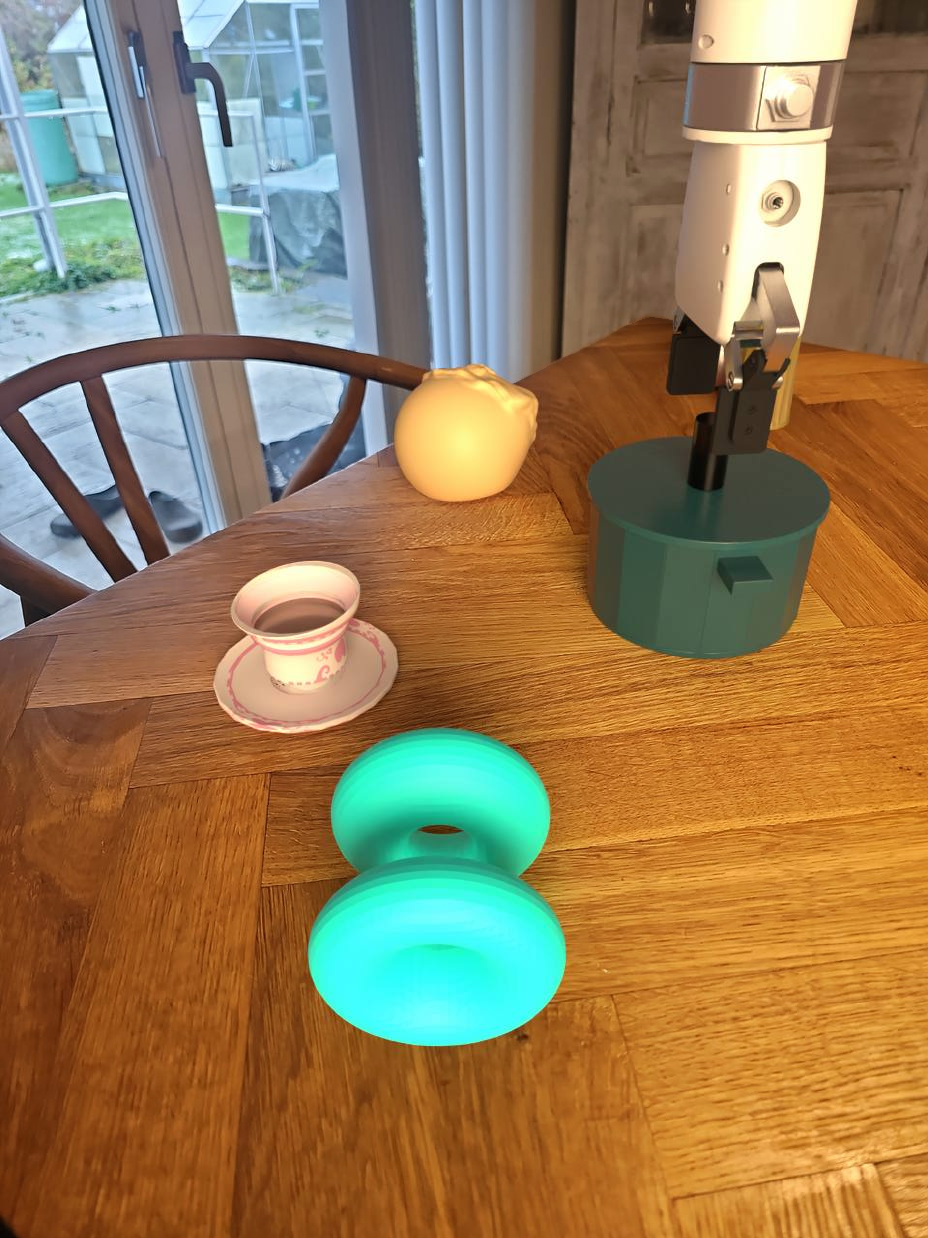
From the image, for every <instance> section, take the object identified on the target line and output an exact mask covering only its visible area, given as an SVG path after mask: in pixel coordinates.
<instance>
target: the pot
mask: <svg viewBox="0 0 928 1238" xmlns="http://www.w3.org/2000/svg"><path fill="white" fill-rule="evenodd" d="M818 528H819V526H818V527H817V528H816V529H815V530H813V531H812V532H811V533H809V534H807V535H805V536H803V537H801V538H799V539H796V540H794V541H791V542H789V543H785V544H781V545H777V546H773V547H767V548H762V549H753V550H743V551H714V550H700V549H691V548H685V547H679V546H673V545H669V544H665V543H660V542H656V541H653V540H650V539H647V538H644V537H641V536H638V535H636V534H633V533H631V532H628V531H626V530H624V529H622V528H620V527H619V526H617V525H615V524H613V523H612V522H610V521H609V520H607V519H606V518H605V517H604V516H602V515H601V514H600V513H599V512H598V511H597V510H596V509H595V507H594V506H593V505H592V503H591V502H590V512H589V528H588V529H589V530H588V543H587V544H588V547H587V561H586V563H587V564H586V578H585V579H586V580H585V588H586V590H587V600H588V604H589V606H590V608H591V610H592V612H593V614H594V615H595V617H596V618H597V619H598V620H599V621H600V622H601V624H603V625H604V626H605V627H606V628H607V629H608V630H609V631H611V632H612V633H614V634H615V635H617V636H619V637H620V638H622V639H623V640H625V641H628V642H630V643H631V644H634V645H636V646H639V647H641V648H644V649H646V650H649V651H653V652H656V653H660V654H663V655H668V656H674V657H679V658H687V659H700V660H716V659H717V660H718V659H719V660H720V659H728V658H729V659H730V658H737V657H742V656H745V655H750V654H753V653H756V652H759V651H762V650H764V649H766V648H769V647H770V646H772V645H774V644H776V643H777V642H779V641H780V640H781V639H782V638H783V637H784V636H785V635H786V634H787V633H788V632H789V631H790V629H791V628H792V626H793V623H794V621H795V620H796V619H797V618H798V617H797V616H798V612H799V608H800V604H801V600H802V595H803V591H804V588H805V583H806V579H807V574H808V571H809V566H810V561H811V558H812V554H813V549H814V545H815V541H816V536H817V534H818V533H817V532H818Z"/></svg>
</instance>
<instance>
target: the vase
mask: <svg viewBox="0 0 928 1238" xmlns="http://www.w3.org/2000/svg"><path fill="white" fill-rule="evenodd" d="M750 329H763V325H761V327H746V329H745V330H750ZM802 337H803V333H802V334H801V335H800V337H799V338H798V339H797V341H796V343H795V345H794V347H793V349H792V351H791V354H790V356H789V359H791V362H790V365H789V366H788V368H787V370H786V371H785V372H784V374H783V383H782V386H781V388H780V389H778V391H777V396H776V401H775V406H774V412H773V417H772V422H771V427H770V432H772V431H778V430H781V429H783V428H785V427H787V426H788V425H789V423H790V419H791V418H790V416H791V415H790V414H791V407H792V402H793V396H794V388H795V381H796V374H797V367H798V360H799V354H800V348H801V343H802ZM760 348H761V347H755V348H742V350H741V358H742V365H743V363H744V362H745V361H746V359H747V358H748V357H749V355H750V354H751V353H752V351H753V350H758V349H760Z"/></svg>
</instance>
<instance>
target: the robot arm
mask: <svg viewBox="0 0 928 1238" xmlns="http://www.w3.org/2000/svg"><path fill="white" fill-rule="evenodd" d="M858 1H859V0H695V9H694V20H693V29H692V38H691V47H690V56H689V57H690V58H689V62H690V63H689V64H688V72H687V73H688V74H687V83H686V91H685V100H684V108H683V109H684V110H683V119H682V131H681V138H684V139H685V140H689V141H694V144H693V150H692V156H691V160H690V166H689V169H688V178H687V183H686V190H685V195H684V202H683V207H682V215H681V222H680V228H679V236H678V242H677V243H678V244H677V252H676V260H675V261H676V262H675V273H674V275H675V276H674V297H675V301H676V305H678V306H677V307H676V310H675V312H674V314H673V318H672V329H673V333H672V334H671V342H670V351H669V359H668V366H667V367H668V368H667V375H666V385H665V390H666V392H667V393H668V394H669V395H670V396H692V395H709V394H712V393H713V392H714V391H715V389H716V387H715V384H716V377H717V370H718V364H719V357H720V350H721V345H723V352H724V363H725V374H726V385H721V386H719V387H717V395H716V402H715V408H714V412H715V414H714V421H713V427H712V434H711V440H710V450H711V451H712V452H713V454H714V455H737V454H757V453H762V452H763V451H765V449H766V447H767V446H768V442H769V438H770V432H771V431H770V427H771V422H772V417H773V412H774V406H775V401H776V396H777V391H778V389H780V388H781V386H782V383H783V374H784V372H785V371H786V370H787V368H788V366H789V365H790V362H791V359H789V356H790V354H791V351H792V349H793V347H794V345H795V343H796V341H797V339H798V338H799V337H800V335H801V334H802V335H803V332H804V329H805V324H806V319H807V315H808V310H809V309H808V308H809V303H810V298H811V297H810V296H811V293H812V292H811V291H812V286H813V278H814V272H815V268H816V267H815V266H816V259H817V253H818V246H819V239H820V233H821V224H822V217H823V207H824V197H825V182H826V181H825V180H826V166H827V164H826V163H827V141H825V140H828V139H830V138H831V137H832V132H833V128H834V125H833V124H834V123H835V117H836V113H837V108H838V102H839V97H840V91H841V87H842V81H843V77H844V72H845V68H846V59H847V57H848V52H849V47H850V40H851V36H852V31H853V26H854V21H855V15H856V11H857V5H858ZM761 325H763V329H750V330H736V328H739V327H761ZM755 347H761V348H760V349H758V350H753V351H752V353H751V354H750V355H749V357H748V358H747V359H746V361H745V362H744V363H743V365H742V358H741V348H755ZM767 448H768V447H767Z"/></svg>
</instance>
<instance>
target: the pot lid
mask: <svg viewBox="0 0 928 1238" xmlns="http://www.w3.org/2000/svg"><path fill="white" fill-rule="evenodd" d="M714 414H715V411H703V412H701V413H699V414H697V415H695V417H694V423H693V424H694V425H693V431H692V435H683V436H682V435H681V436H666V437H657V438H649V439H645V440H644V439H643V440H640V441H635V442H631V443H627V444H625V445H623V446H620V447H617V448H615V449H613V450H611V451H609V452H607V453H605V454H603V456H601V457H600V458H598V459H597V460H596V461H595V462H594V463H593V465H592V466H591V468H590V469H589V470H588V474H587V477H586V493H587V494H586V495H587V498H588V500H589V502H590V504H591V503H592V505H593V506H594V507H595V509H596V510H597V511H598V512H599V513H600V514H601V515H602V516H604V517H605V518H606V519H607V520H609V521H610V522H612V523H613V524H615V525H617V526H619V527H620V528H622V529H624V530H626V531H628V532H631V533H633V534H636V535H638V536H641V537H644V538H647V539H650V540H653V541H656V542H660V543H665V544H669V545H673V546H679V547H685V548H691V549H700V550H714V551H743V550H753V549H762V548H767V547H773V546H777V545H781V544H785V543H789V542H791V541H794V540H796V539H799V538H801V537H803V536H805V535H807V534H809V533H811V532H812V531H813V530H815V529H816V528H817V527H818V528H819V527H820V525H822V523H823V522H824V521H825V519H826V518H827V516H828V514H829V511H830V507H831V501H832V497H831V491H830V489H829V487H828V484H827V482H825V481H826V480H824V479H823V477H822V476H821V475H820V474H818V473H817V471H815V470H814V469H813V468H811V467H810V466H809V465H807V464H806V463H804V462H802V461H801V460H799V459H797V458H795V457H793V456H791V455H789V454H786V453H785V452H782V451H780V450H779V451H778V450H776V449H773V448H770V447H766V449H765V451H763V452H762V453H757V454H737V455H714V454H713V452H712V451H711V450H710V440H711V434H712V427H713V421H714Z"/></svg>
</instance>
